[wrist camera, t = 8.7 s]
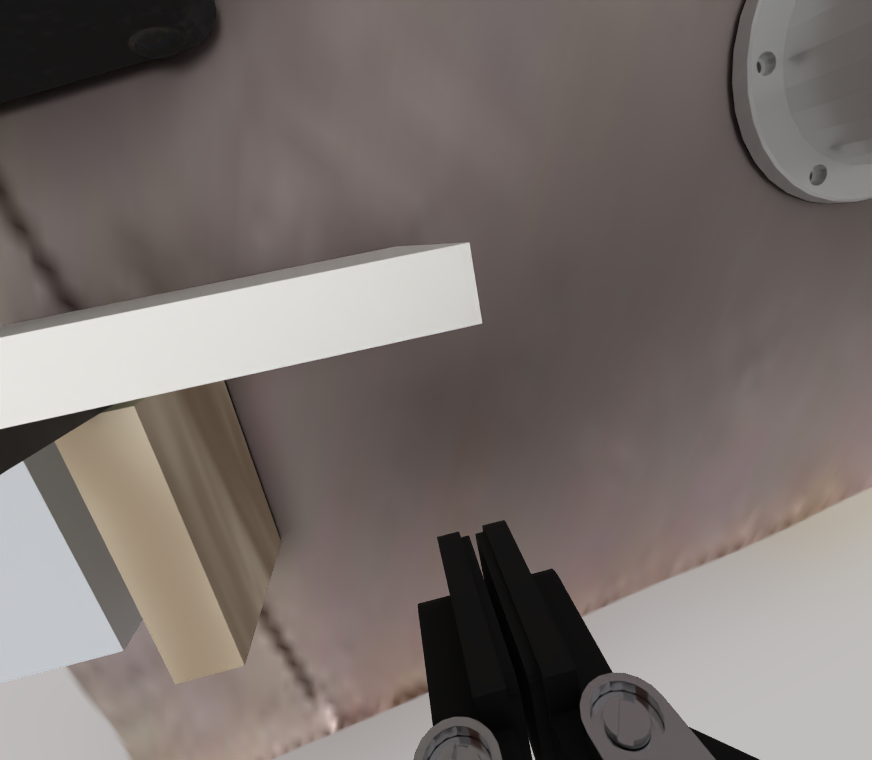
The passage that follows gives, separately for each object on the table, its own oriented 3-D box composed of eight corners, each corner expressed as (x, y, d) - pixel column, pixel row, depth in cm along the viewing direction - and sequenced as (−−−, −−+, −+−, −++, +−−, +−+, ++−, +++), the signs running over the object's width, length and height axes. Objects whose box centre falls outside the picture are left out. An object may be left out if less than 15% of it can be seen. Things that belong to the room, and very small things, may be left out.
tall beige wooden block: (207, 334, 19) (-129, 514, 6) (281, 542, 23) (161, 944, 10) (150, 346, 19) (-321, 558, 6) (232, 554, 22) (43, 983, 9)
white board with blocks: (395, 246, 20) (469, 242, 5) (448, 497, 24) (571, 880, 9) (-67, 339, 18) (-1688, 680, 4) (71, 591, 22) (-478, 1226, 8)
